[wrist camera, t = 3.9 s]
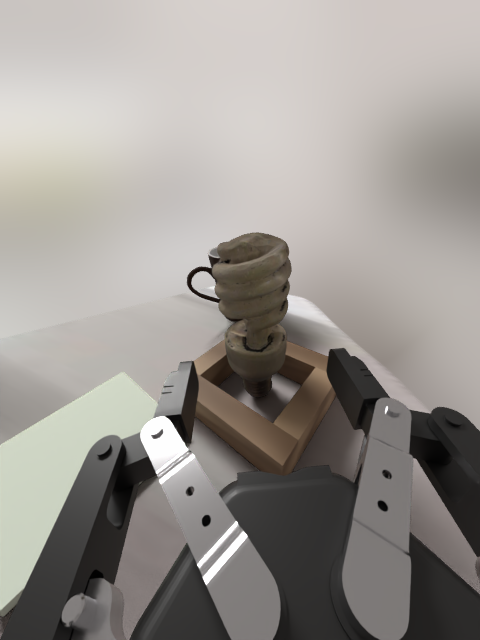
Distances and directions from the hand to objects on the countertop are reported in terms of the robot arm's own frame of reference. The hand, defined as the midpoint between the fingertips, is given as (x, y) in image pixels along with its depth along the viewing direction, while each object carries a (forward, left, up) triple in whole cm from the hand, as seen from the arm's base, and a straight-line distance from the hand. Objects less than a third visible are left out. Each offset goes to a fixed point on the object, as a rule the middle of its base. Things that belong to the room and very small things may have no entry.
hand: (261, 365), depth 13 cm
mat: (-9, +11, -8) cm, 17 cm away
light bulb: (+4, +3, -9) cm, 10 cm away
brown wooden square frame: (+4, +3, -8) cm, 10 cm away
